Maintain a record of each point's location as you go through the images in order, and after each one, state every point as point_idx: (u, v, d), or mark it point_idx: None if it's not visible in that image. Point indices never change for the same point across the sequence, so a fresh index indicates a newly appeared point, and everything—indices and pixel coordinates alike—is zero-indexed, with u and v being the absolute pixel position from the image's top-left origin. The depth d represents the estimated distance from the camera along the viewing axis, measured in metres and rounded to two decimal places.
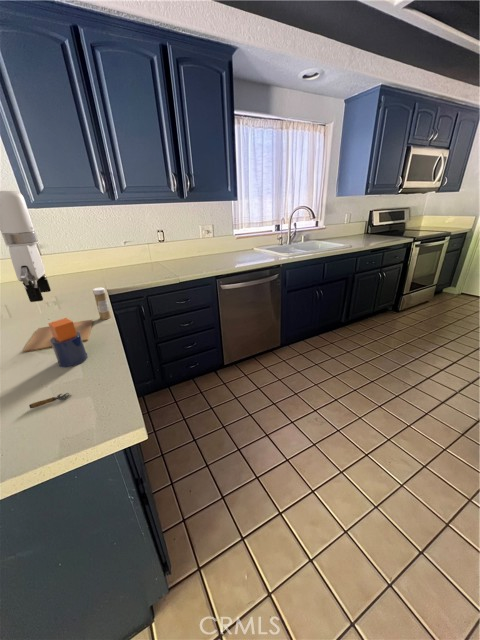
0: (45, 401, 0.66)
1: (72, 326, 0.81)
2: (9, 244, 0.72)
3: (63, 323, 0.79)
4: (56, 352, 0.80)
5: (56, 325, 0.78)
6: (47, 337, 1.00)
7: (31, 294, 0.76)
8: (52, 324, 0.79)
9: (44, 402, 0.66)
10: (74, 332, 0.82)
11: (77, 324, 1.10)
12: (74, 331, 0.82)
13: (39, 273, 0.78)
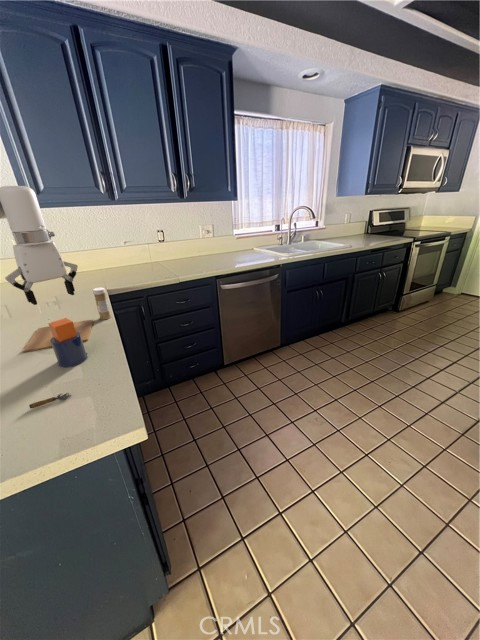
0: (45, 401, 0.66)
1: (72, 326, 0.81)
2: None
3: (63, 323, 0.79)
4: (56, 352, 0.80)
5: (56, 325, 0.78)
6: (47, 337, 1.00)
7: (26, 296, 0.72)
8: (52, 324, 0.79)
9: (44, 402, 0.66)
10: (74, 332, 0.82)
11: (77, 324, 1.10)
12: (74, 331, 0.82)
13: (38, 276, 0.71)
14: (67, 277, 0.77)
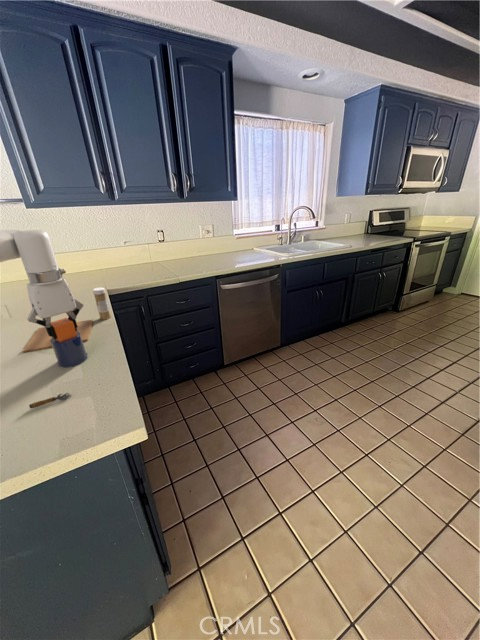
0: (45, 401, 0.66)
1: (72, 326, 0.81)
2: None
3: (63, 323, 0.79)
4: (56, 352, 0.80)
5: (56, 325, 0.78)
6: (47, 337, 1.00)
7: (47, 331, 0.78)
8: (52, 324, 0.79)
9: (44, 402, 0.66)
10: (74, 332, 0.82)
11: (77, 324, 1.10)
12: (74, 331, 0.82)
13: (49, 312, 0.75)
14: (72, 314, 0.81)
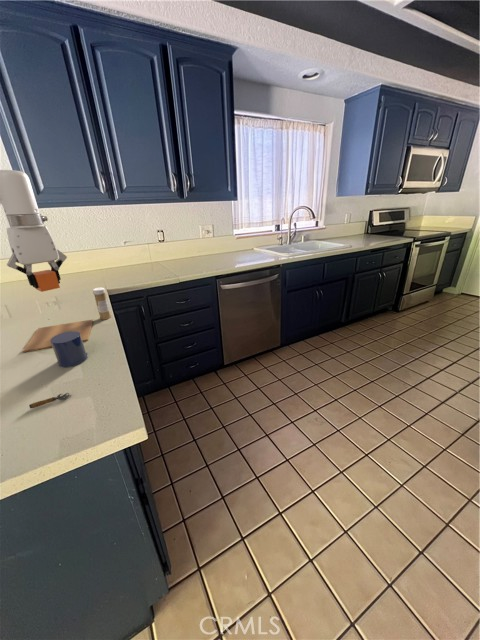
0: (45, 401, 0.66)
1: (54, 277, 0.79)
2: None
3: (45, 273, 0.78)
4: (56, 352, 0.80)
5: (37, 274, 0.77)
6: (47, 337, 1.00)
7: (28, 280, 0.77)
8: (34, 273, 0.78)
9: (44, 402, 0.66)
10: (56, 283, 0.80)
11: (77, 324, 1.10)
12: (56, 282, 0.80)
13: (30, 258, 0.74)
14: (54, 265, 0.79)
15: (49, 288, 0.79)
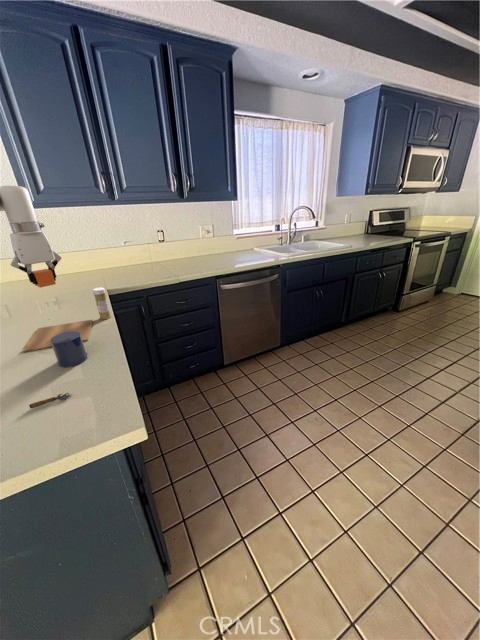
0: (45, 401, 0.66)
1: (51, 275, 0.93)
2: None
3: (43, 271, 0.91)
4: (56, 352, 0.80)
5: (36, 272, 0.90)
6: (47, 337, 1.00)
7: (29, 277, 0.90)
8: (33, 271, 0.91)
9: (44, 402, 0.66)
10: (53, 280, 0.94)
11: (77, 324, 1.10)
12: (53, 279, 0.94)
13: (30, 259, 0.87)
14: (51, 264, 0.93)
15: (46, 284, 0.92)
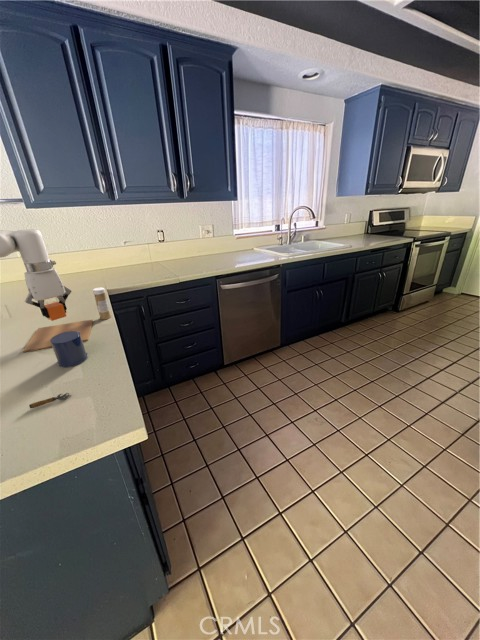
0: (45, 401, 0.66)
1: (62, 308, 0.98)
2: None
3: (54, 305, 0.97)
4: (56, 352, 0.80)
5: (49, 307, 0.96)
6: (47, 337, 1.00)
7: (41, 311, 0.96)
8: (45, 306, 0.97)
9: (44, 402, 0.66)
10: (64, 313, 0.99)
11: (77, 324, 1.10)
12: (64, 312, 0.99)
13: (43, 296, 0.93)
14: (61, 298, 0.99)
15: (58, 317, 0.98)
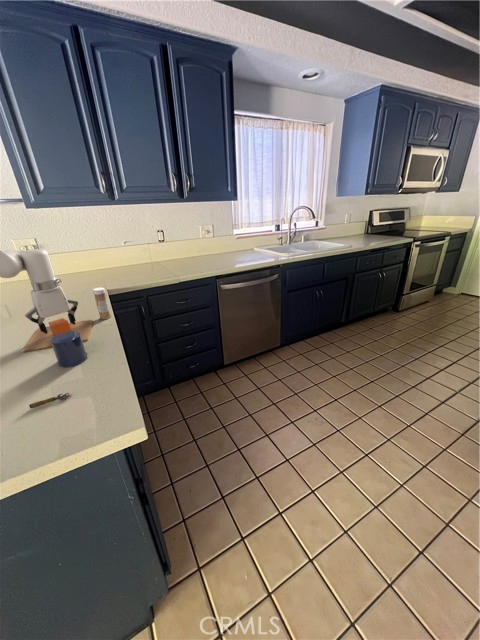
0: (45, 401, 0.66)
1: (67, 325, 1.01)
2: None
3: (60, 322, 1.00)
4: (56, 352, 0.80)
5: (54, 324, 0.99)
6: (47, 337, 1.00)
7: (39, 327, 0.97)
8: (51, 323, 1.00)
9: (44, 402, 0.66)
10: (69, 329, 1.02)
11: (77, 324, 1.10)
12: (69, 328, 1.02)
13: (48, 313, 0.96)
14: (70, 311, 1.02)
15: None
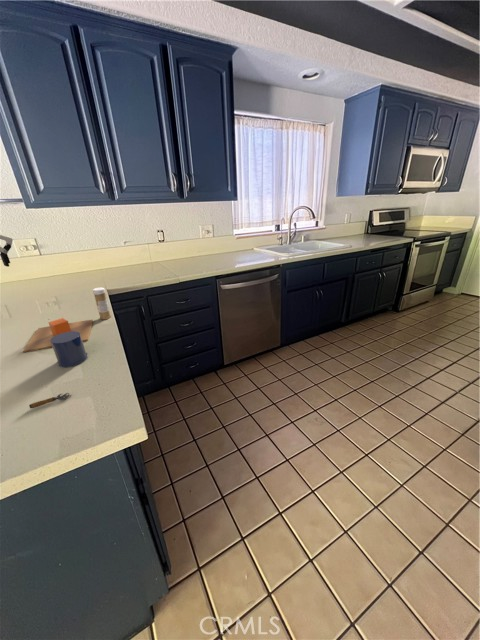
0: (45, 401, 0.66)
1: (67, 325, 1.01)
2: None
3: (60, 322, 1.00)
4: (56, 352, 0.80)
5: (54, 324, 0.99)
6: (47, 337, 1.00)
7: None
8: (51, 323, 1.00)
9: (44, 402, 0.66)
10: (69, 329, 1.02)
11: (77, 324, 1.10)
12: (69, 328, 1.02)
13: None
14: (1, 249, 0.83)
15: None
